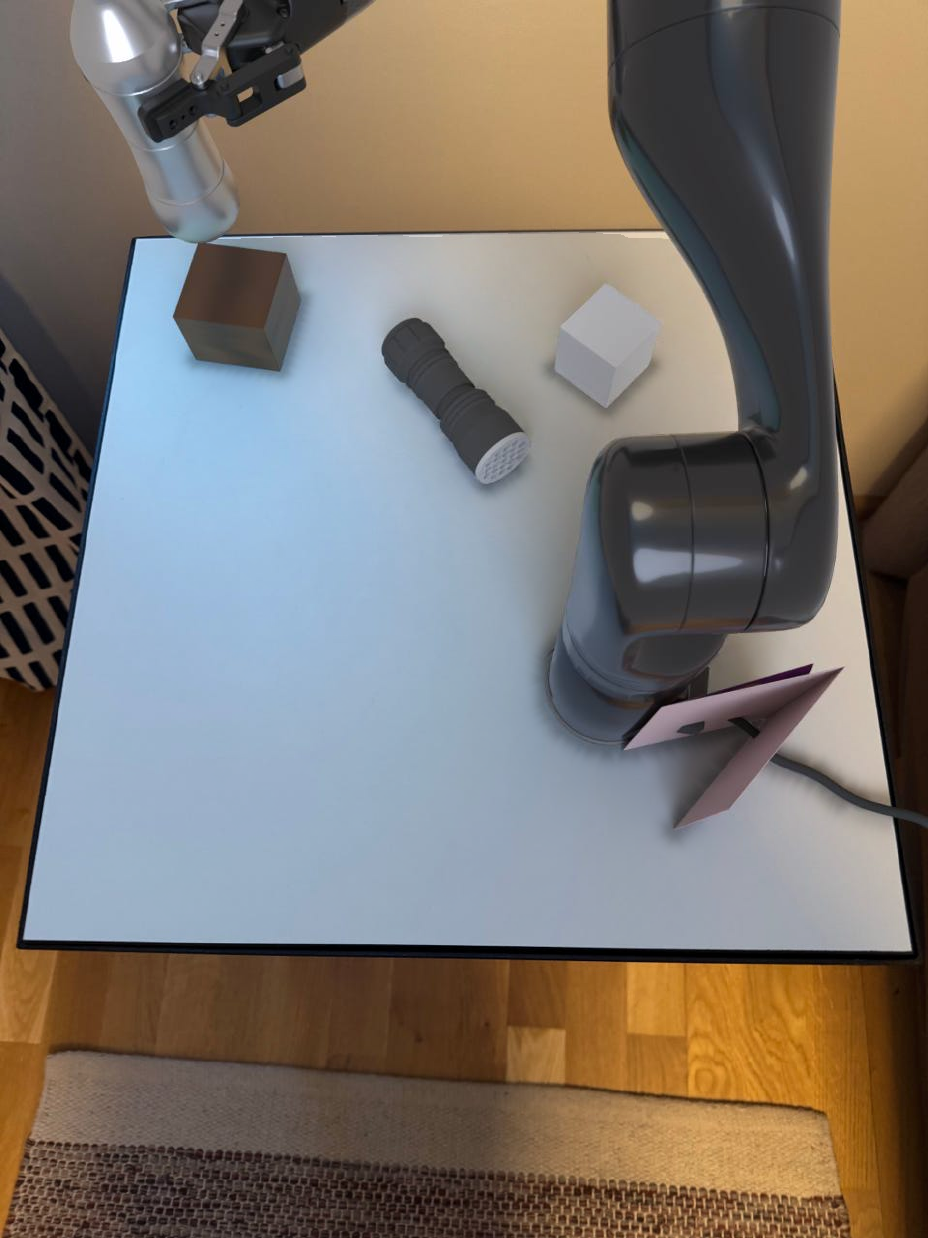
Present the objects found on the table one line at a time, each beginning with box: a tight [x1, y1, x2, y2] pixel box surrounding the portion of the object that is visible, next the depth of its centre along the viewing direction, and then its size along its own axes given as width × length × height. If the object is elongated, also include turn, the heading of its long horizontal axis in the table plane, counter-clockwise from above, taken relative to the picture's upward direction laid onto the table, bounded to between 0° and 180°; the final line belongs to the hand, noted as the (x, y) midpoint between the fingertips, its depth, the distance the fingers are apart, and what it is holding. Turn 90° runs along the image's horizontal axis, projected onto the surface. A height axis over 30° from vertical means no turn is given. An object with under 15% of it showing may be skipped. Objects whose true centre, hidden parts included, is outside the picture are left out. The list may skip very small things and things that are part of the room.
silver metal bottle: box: [69, 0, 241, 245], centre depth 56 cm, size 6×7×20 cm
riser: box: [172, 242, 302, 372], centre depth 74 cm, size 8×8×6 cm
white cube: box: [554, 282, 663, 409], centre depth 72 cm, size 6×6×6 cm
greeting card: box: [622, 662, 846, 831], centre depth 56 cm, size 11×7×15 cm, turn 102°
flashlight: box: [380, 317, 532, 485], centre depth 71 cm, size 15×5×5 cm, turn 36°
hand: (115, 99), depth 53 cm, fingers closed on silver metal bottle, 6 cm apart
